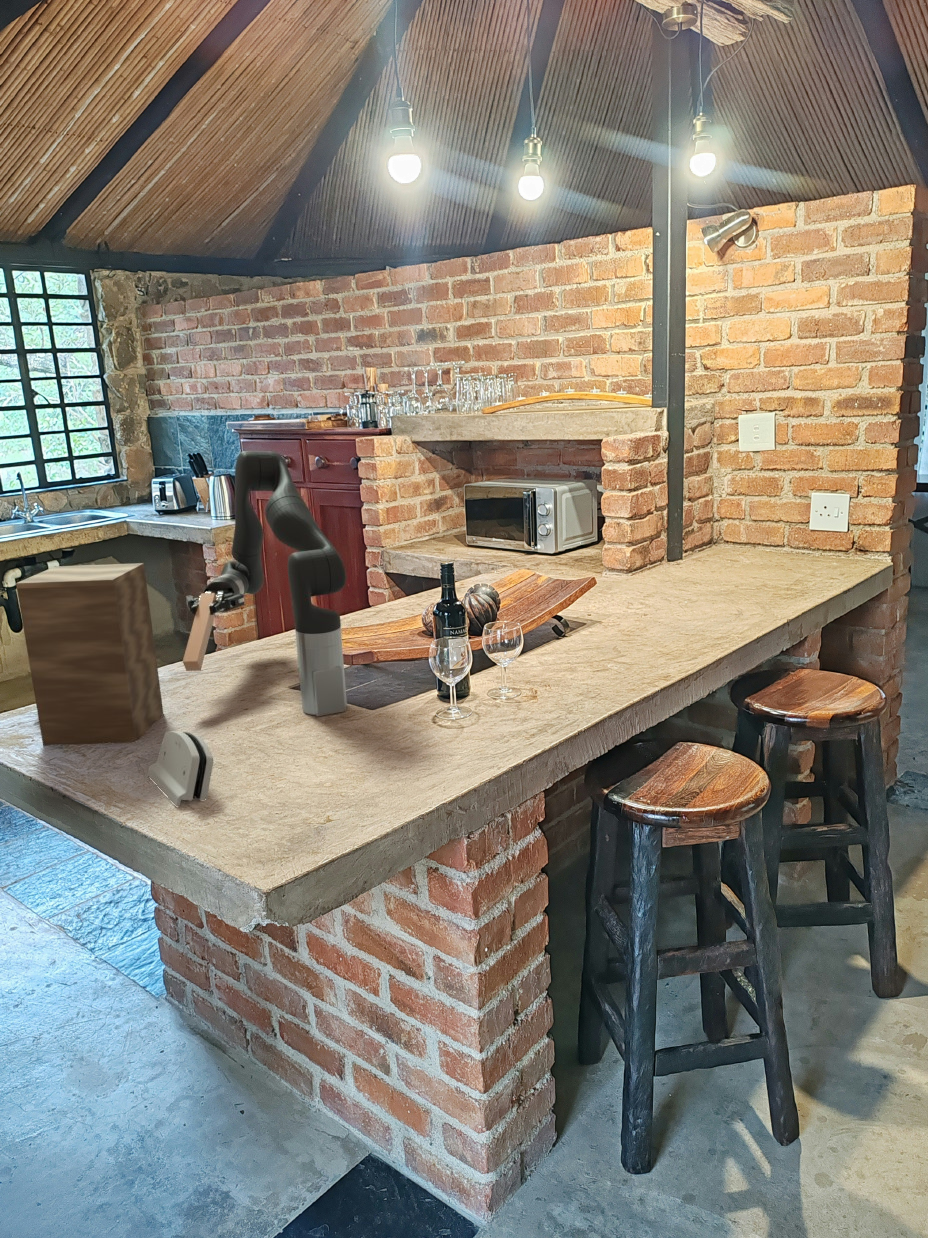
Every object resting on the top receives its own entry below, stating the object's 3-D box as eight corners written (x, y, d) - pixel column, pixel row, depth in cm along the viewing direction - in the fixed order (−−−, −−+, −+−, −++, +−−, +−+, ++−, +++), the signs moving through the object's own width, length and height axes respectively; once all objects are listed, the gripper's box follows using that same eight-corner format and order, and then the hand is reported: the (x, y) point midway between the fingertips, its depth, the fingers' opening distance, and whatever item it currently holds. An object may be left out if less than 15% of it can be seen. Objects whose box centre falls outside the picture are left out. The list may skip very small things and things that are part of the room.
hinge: (146, 775, 159) (159, 720, 158) (173, 777, 162) (185, 723, 161) (176, 809, 145) (190, 749, 145) (204, 810, 148) (218, 751, 148)
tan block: (204, 602, 203) (201, 593, 201) (218, 602, 203) (214, 592, 201) (186, 671, 189) (182, 661, 187) (200, 670, 189) (197, 661, 187)
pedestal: (78, 716, 190) (55, 566, 182) (163, 713, 190) (143, 563, 182) (43, 745, 175) (16, 583, 167) (135, 742, 174) (112, 579, 166)
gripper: (193, 577, 213) (169, 594, 196) (252, 575, 212) (233, 592, 196) (196, 608, 214) (173, 628, 198) (255, 606, 214) (237, 626, 197)
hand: (203, 610), depth 197 cm, fingers closed on tan block, 3 cm apart
